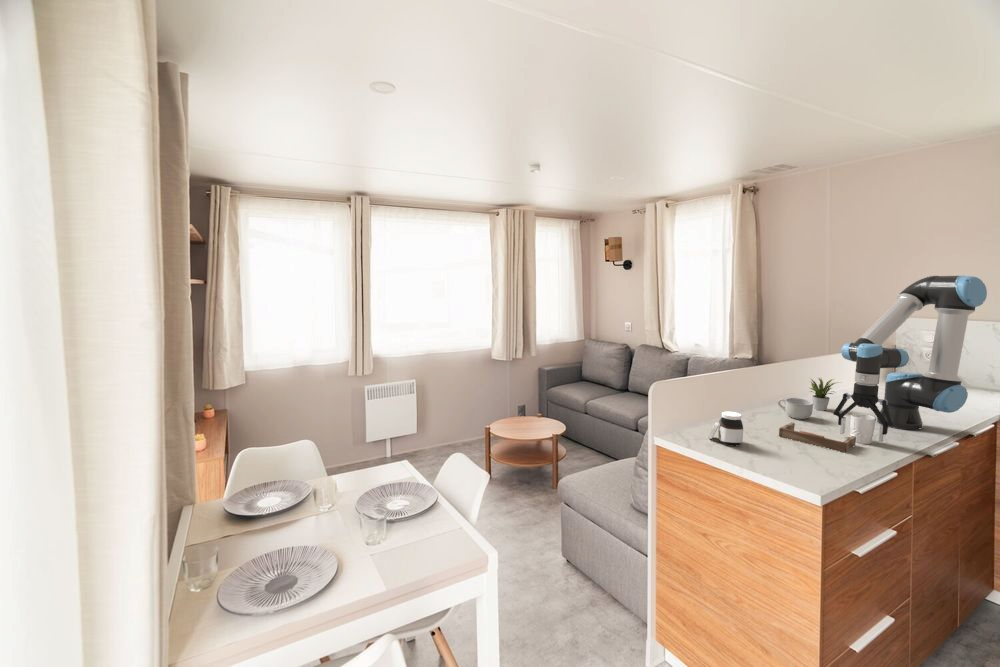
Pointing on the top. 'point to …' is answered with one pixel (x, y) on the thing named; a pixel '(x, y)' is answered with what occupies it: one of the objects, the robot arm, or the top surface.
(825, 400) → the house plant
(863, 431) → the white cup
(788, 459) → the top surface
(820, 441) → the brown wooden open frame
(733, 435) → the spread jar
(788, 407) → the teacup
